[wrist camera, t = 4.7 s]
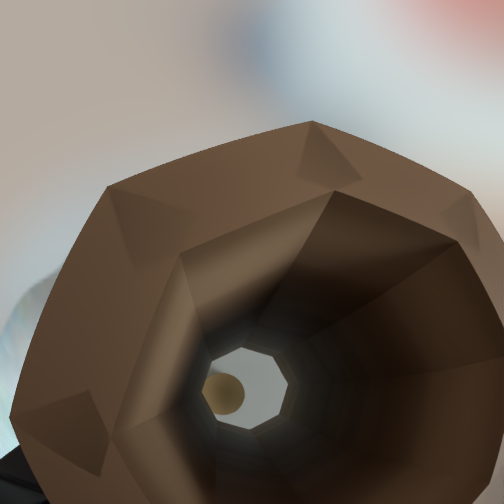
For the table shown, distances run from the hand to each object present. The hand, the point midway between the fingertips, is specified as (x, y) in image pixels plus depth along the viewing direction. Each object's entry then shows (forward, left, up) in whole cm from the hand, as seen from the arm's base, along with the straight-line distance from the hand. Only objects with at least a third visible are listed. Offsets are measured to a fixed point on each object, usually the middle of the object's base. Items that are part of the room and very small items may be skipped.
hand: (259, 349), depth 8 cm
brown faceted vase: (-1, 0, -7) cm, 7 cm away
